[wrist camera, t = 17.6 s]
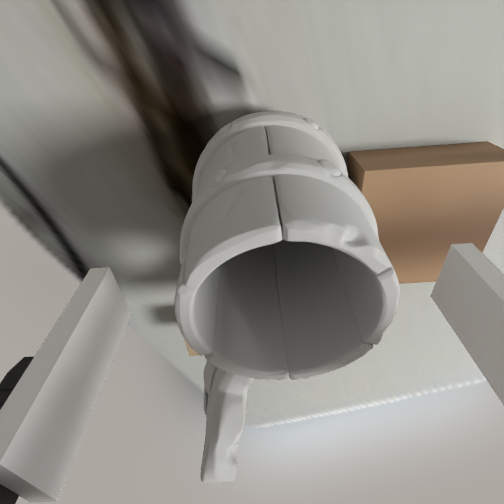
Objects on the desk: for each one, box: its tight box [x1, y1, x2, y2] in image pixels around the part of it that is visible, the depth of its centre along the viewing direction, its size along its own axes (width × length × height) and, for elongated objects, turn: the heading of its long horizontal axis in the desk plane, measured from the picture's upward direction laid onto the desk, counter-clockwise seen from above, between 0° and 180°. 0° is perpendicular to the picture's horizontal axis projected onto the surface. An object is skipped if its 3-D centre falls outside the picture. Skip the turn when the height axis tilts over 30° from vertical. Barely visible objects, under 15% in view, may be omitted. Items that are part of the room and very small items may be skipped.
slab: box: [347, 142, 504, 284], centre depth 17 cm, size 7×7×3 cm
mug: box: [175, 111, 400, 483], centre depth 13 cm, size 8×12×12 cm, turn 159°
